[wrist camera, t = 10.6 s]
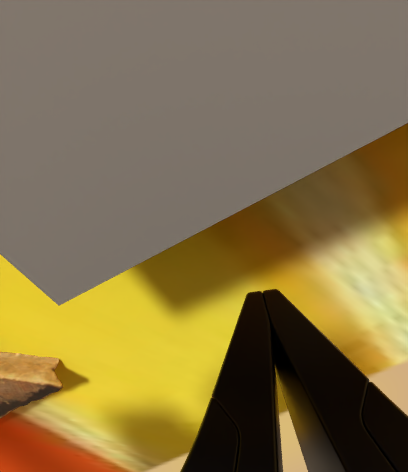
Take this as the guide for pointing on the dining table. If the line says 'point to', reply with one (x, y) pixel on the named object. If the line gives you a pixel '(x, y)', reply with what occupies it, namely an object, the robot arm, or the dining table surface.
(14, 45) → the grey block
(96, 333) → the dining table surface
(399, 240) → the dining table surface
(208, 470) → the robot arm
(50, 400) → the dining table surface
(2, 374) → the shard
